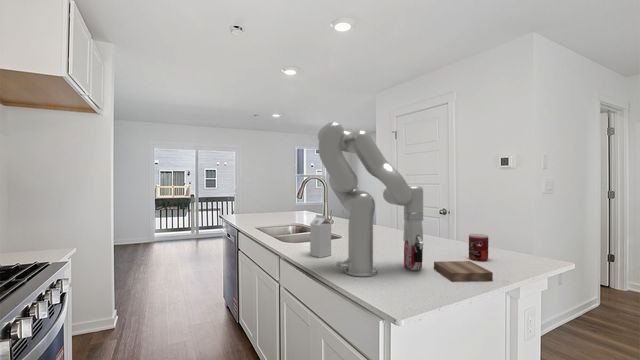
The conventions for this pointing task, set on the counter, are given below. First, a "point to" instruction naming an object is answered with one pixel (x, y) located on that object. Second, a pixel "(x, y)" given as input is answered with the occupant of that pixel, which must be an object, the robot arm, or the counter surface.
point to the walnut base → (463, 271)
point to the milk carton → (320, 237)
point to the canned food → (478, 247)
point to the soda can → (410, 258)
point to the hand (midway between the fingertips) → (413, 258)
